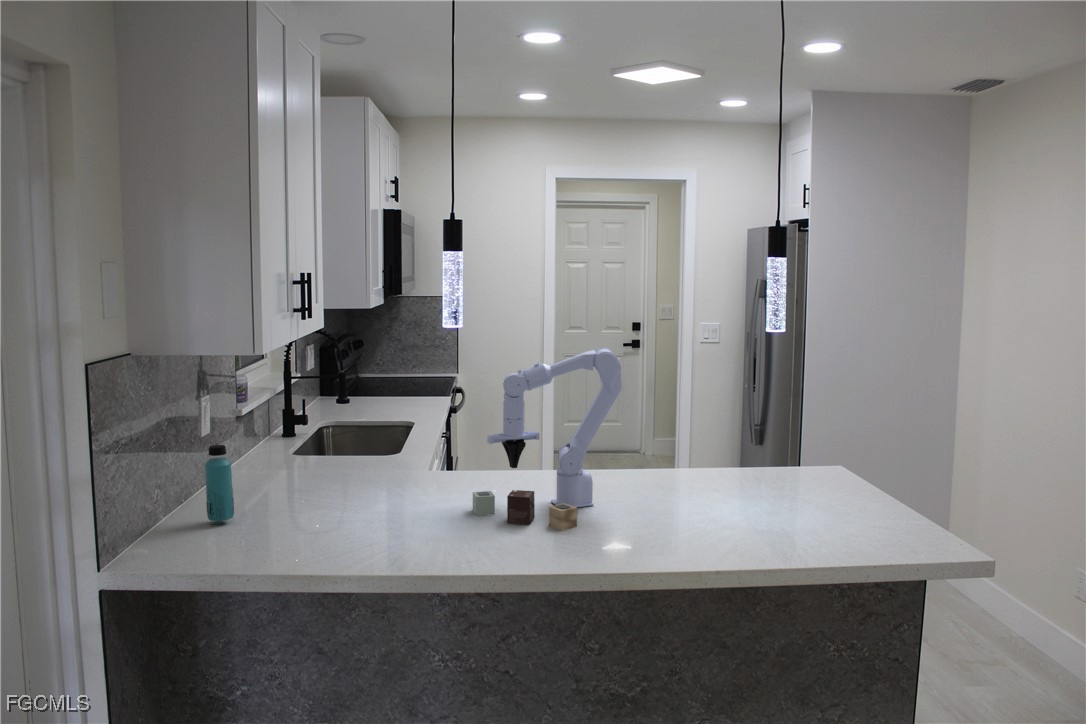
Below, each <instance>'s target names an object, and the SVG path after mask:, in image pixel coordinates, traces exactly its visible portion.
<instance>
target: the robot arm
mask: <svg viewBox="0 0 1086 724" xmlns="http://www.w3.org/2000/svg"><path fill="white" fill-rule="evenodd" d="M594 368H595V370H596V371H597V373H598V375H599V378H600V383H601V388H600V389H599V392H598V393H597V395H596V397H595V398H594V400H593V401H592V403H591V405H590V407H588V410H587V412H586V414H585V416H584V417H583V419H582V420H581V423H580V424H579V426H578V427H577V429H576V431H575V432H574V435H572V436H571V438H570V439H569V440H568V442H567V443H566V444H565V445H563V446H562V447H561V448H559V450H558V452H557V461H558V462H559V463H558V465H559V467H558V469H556V498H555V499H550V502H551V503H552V504H554V505H558V504H562V503H565V504H568V505H571V506H574V507H577V508H582V507H583V508H584V507H591V506H594V502H593V485H594V484H593V478H592V477H593V476H592V474H591V473H590V471H588V470H584V469H583V464H584V458H585V456H586V455H587V453H588V448H589V446H590V444H591V442H592V441H593V439H594V437H595V435H596V433H597V432H598V431H599V429H600V427H601V426H602V423H603V422H604V420H605V418H606V417H607V415H608V413H609V412H610V410H611V408H612V406H613V404H614V403H615V401H616V400H617V398H618V396H619V394H620V393H621V391H622V389H623V388H622V372H621V371H622V365H621V363H620V361H619V358H618V357H617V355H616V354H615V353H614V352H613V351H612V350H611V349H610V348H607V347H600V348H597V349H596V350H595V349H592V350H587V351H584V352H581V353H578V354H576V355H574V356H570V357H569V358H568V357H567V358H566V359H563V360H561V361H559V362H557V363H553V364H551V365H548V364H546V363H544V362H543V363H539V362H536V363H534V366H531V367H528V368H526V369H523V370H522V369H518V370H517V372H511V373H509V374H507V375H506V376H505V378H504V379H503V382H502V386H503V390H504V394H503V403H502V404H503V410H502V411H503V414H502V415H503V418H502V419H503V421H502V422H503V423H502V424H503V425H502V430H503V431H502V432H501V433H495V434H490V435H487V437H486V438H487V441H486V442H487V443H488V444H490V445H492V444H497V443H501V445H502V446H503V448H504V450H505V454H506V456H507V459H508V463H509V468H511V469H518V466H519V462H520V457H521V455H522V454H523V451H524V450H525V448H526V444H527V443H526V442H525V441H530V440H531V441H532V440H536V441H537V440H540V438H541V437H540V435H541V434H540V432H539V431H525V409H526V407H525V399H524V398H525V395H524V393H525V391H527V392H529V391H533V390H535V389H537V388H541V387H543V386H546V385H550V384H551V383H552V382H553V379H554V378H555V377H558V376H562V375H564V374H568V373H572V372H574V371H578V370H581V369H584V370H588V371H592V372H593V371H594Z"/></svg>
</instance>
